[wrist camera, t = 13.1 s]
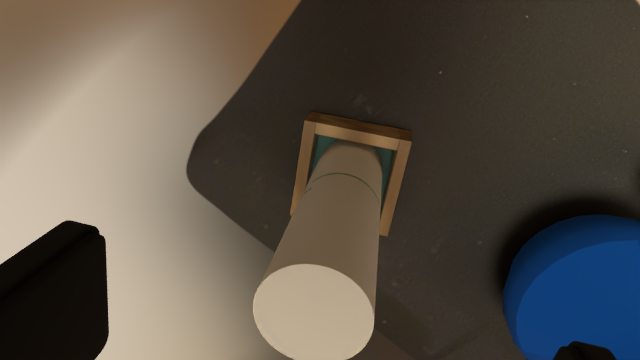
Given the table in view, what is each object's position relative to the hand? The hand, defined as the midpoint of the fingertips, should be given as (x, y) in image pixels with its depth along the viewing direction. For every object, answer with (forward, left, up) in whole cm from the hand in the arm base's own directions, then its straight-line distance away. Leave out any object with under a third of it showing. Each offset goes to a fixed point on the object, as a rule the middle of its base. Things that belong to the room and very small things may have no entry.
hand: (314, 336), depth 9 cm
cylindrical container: (-1, -11, -38) cm, 40 cm away
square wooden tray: (-1, -11, -39) cm, 40 cm away
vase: (+26, -17, -39) cm, 50 cm away
